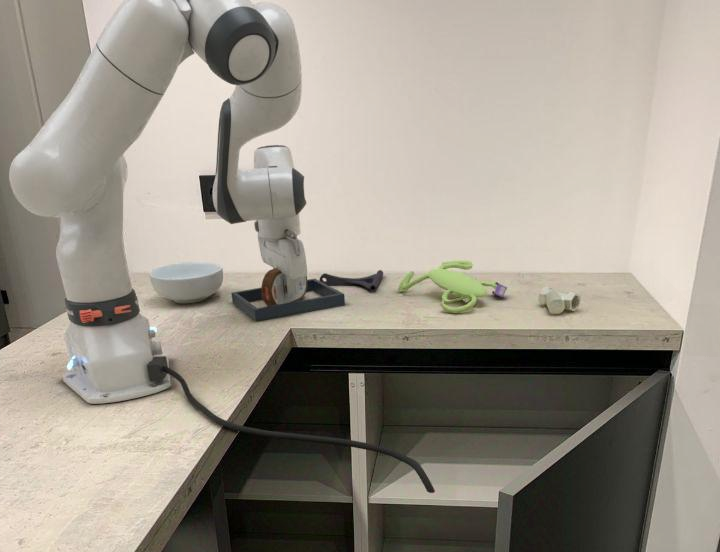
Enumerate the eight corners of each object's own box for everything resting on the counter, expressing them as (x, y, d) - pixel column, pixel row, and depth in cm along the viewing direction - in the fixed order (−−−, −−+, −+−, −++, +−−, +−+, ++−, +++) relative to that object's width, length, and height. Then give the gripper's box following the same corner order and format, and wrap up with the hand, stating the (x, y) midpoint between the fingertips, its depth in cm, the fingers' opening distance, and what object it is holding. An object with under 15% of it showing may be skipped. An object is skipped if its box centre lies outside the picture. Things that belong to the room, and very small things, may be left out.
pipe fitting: (559, 319, 149) (580, 309, 152) (560, 300, 147) (581, 290, 150) (528, 311, 154) (548, 302, 157) (528, 293, 152) (549, 284, 155)
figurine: (457, 277, 180) (458, 254, 177) (524, 301, 159) (526, 275, 156) (391, 289, 173) (390, 265, 171) (452, 316, 152) (452, 290, 150)
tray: (345, 304, 164) (344, 293, 163) (255, 321, 157) (254, 309, 156) (315, 288, 178) (315, 278, 177) (232, 303, 170) (231, 292, 169)
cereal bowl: (174, 313, 165) (168, 282, 162) (142, 300, 176) (137, 270, 173) (239, 297, 174) (235, 267, 171) (205, 286, 185) (200, 257, 182)
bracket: (325, 277, 187) (324, 266, 185) (383, 276, 185) (382, 265, 183) (314, 293, 174) (313, 281, 173) (376, 292, 172) (376, 280, 171)
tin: (301, 295, 173) (295, 258, 170) (312, 295, 172) (307, 258, 168) (263, 312, 162) (256, 274, 158) (275, 313, 161) (268, 274, 157)
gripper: (311, 232, 152) (316, 298, 159) (277, 218, 168) (283, 278, 175) (282, 236, 150) (289, 303, 156) (251, 221, 166) (258, 282, 173)
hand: (286, 290), depth 166 cm, fingers closed on tin, 4 cm apart
